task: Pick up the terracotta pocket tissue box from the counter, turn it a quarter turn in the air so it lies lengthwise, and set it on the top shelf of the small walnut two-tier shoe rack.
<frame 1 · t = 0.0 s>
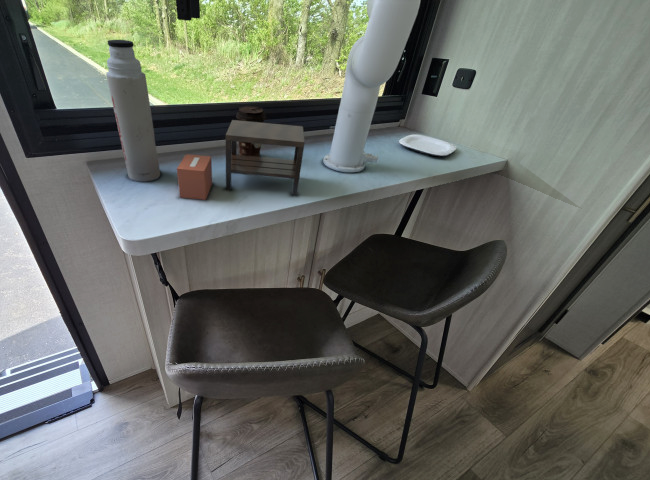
hand: (189, 19, 78), 31 cm above the table, tool pointing down, fingers open, 9 cm apart
tissue box: (196, 190, 80), on the table
shoe rack: (262, 182, 86), on the table
thermos bottle: (144, 175, 85), on the table
coffee cup: (249, 156, 100), on the table
plate: (425, 149, 117), on the table
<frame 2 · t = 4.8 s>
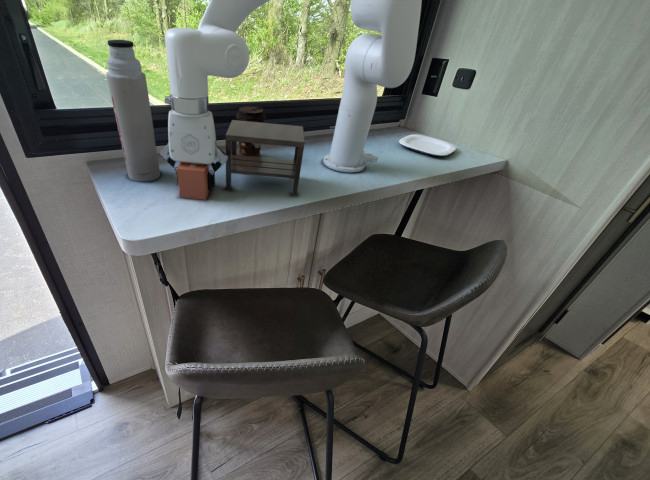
hand: (196, 186, 80), 1 cm above the table, tool pointing down, fingers closed on tissue box, 6 cm apart
tissue box: (196, 190, 80), on the table, touching gripper
everything else where it was.
when the fingers open (14 cm above the table, at t = 14.0 s): tissue box stays where it is, resting on shoe rack.
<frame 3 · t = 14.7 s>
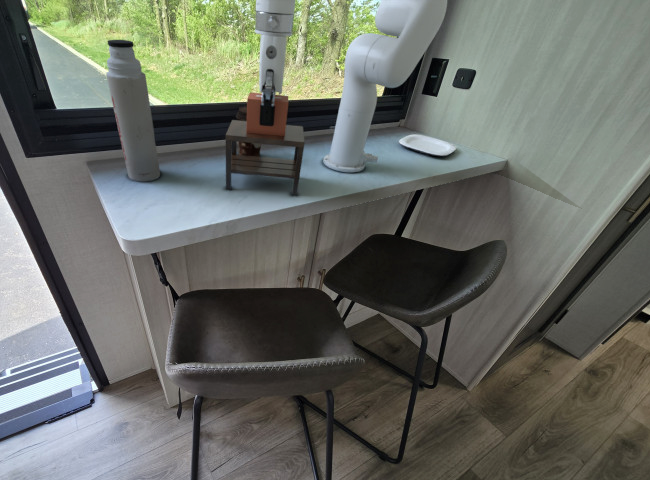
hand: (267, 119, 76), 15 cm above the table, tool pointing down, fingers open, 9 cm apart
tissue box: (266, 130, 77), point 13 cm above the table, touching shoe rack
everything else where it was.
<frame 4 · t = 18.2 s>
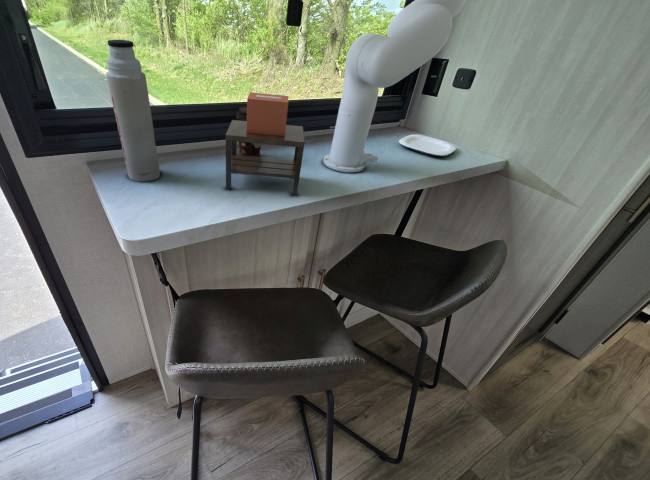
hand: (293, 24, 73), 32 cm above the table, tool pointing down, fingers open, 9 cm apart
nothing on the table moved.
at the end: tissue box inside the target area on the shoe rack (0.1 cm from its centre), point 13.0 cm above the shoe rack's base; tissue box tilted 0°; the gripper is holding nothing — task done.
